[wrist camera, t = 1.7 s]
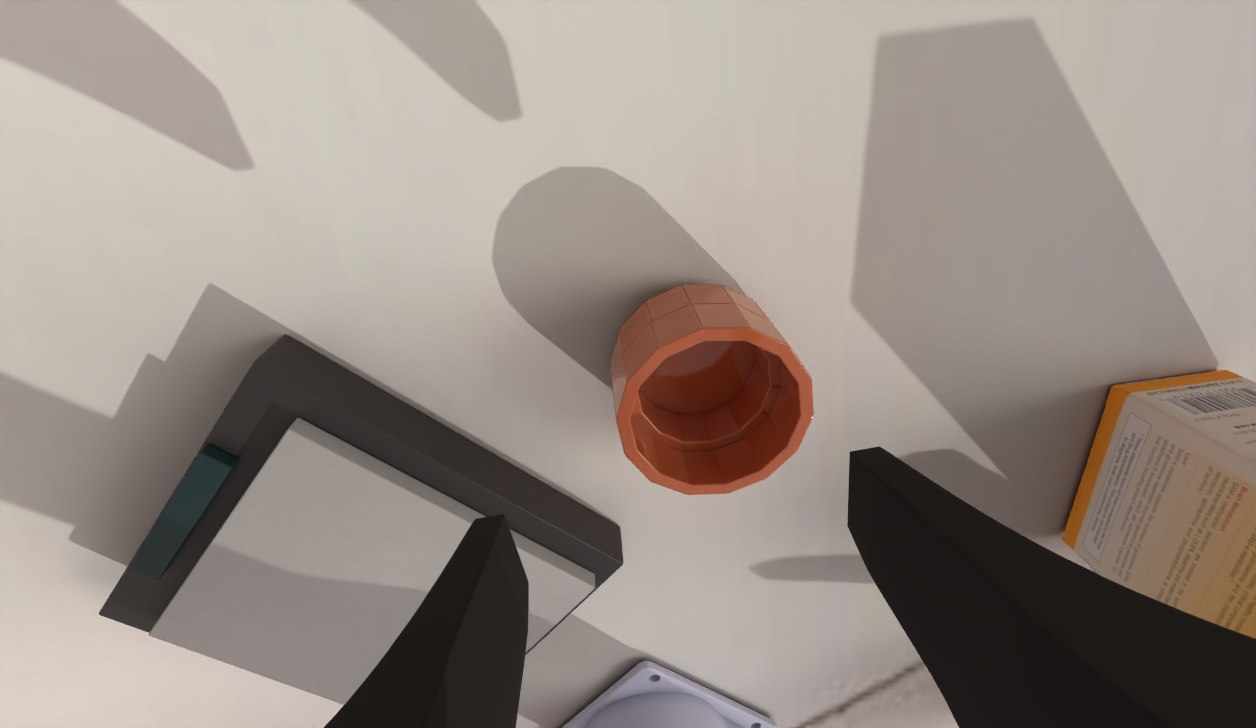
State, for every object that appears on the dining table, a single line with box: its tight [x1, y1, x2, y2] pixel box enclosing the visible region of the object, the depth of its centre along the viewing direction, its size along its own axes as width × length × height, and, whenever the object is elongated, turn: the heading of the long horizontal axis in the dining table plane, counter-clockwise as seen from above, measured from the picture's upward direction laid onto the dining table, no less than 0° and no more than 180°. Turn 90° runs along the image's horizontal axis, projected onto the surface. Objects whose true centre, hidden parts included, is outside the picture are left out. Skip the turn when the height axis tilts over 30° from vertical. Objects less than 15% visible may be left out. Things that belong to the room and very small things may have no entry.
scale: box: [99, 335, 623, 705], centre depth 21 cm, size 14×13×3 cm
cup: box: [610, 285, 814, 495], centre depth 18 cm, size 6×6×4 cm
